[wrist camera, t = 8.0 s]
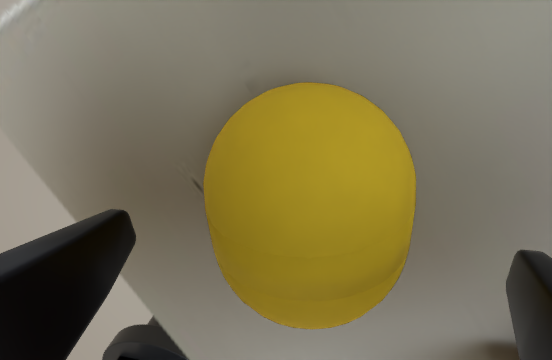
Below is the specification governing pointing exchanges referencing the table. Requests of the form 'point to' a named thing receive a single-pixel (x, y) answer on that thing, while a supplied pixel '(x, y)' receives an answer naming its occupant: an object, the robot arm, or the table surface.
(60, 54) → the table surface
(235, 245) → the yellow plastic egg
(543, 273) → the robot arm
